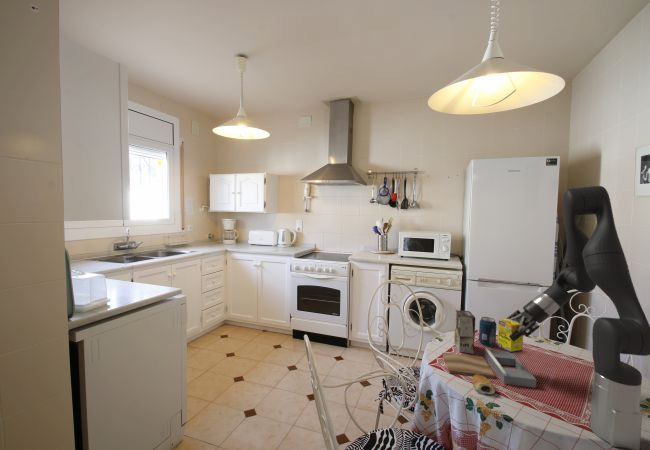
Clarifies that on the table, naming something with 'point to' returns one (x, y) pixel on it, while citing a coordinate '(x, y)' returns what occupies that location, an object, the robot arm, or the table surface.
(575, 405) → the table surface
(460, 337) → the coffee box
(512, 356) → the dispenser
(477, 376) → the pastry
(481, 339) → the soda can
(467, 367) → the tan flat board
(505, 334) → the supplement box
